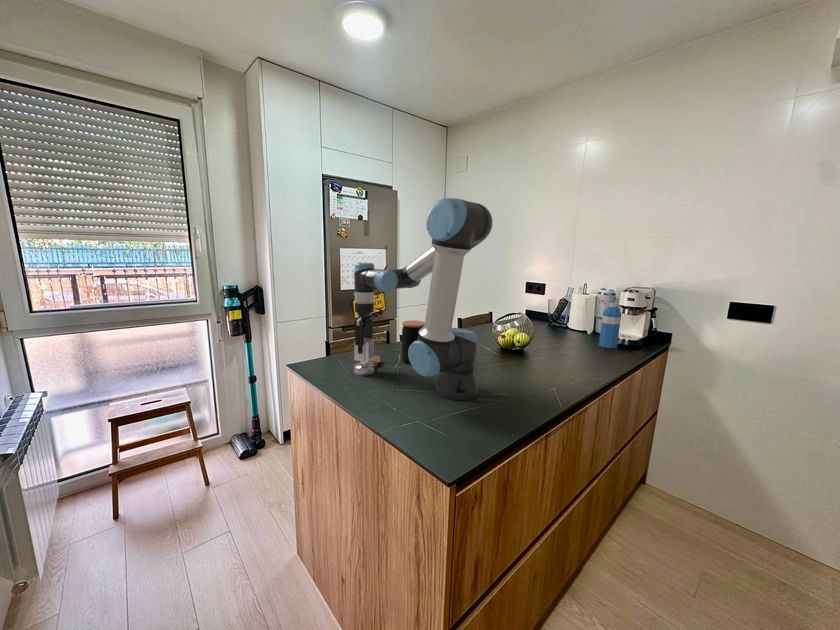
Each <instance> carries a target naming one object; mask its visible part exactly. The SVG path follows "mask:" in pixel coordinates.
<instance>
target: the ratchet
mask: <svg viewBox="0 0 840 630" xmlns="http://www.w3.org/2000/svg"><path fill="white" fill-rule="evenodd" d="M380 362H381V356H380V355H374V357H373V358H372V359H371V360H370V361H369V362H366V361H359V362H358V363H356V364H354V375H356V376H359V377H360V376H361V377H368V376H371V375H373V374H375V368H376V367H377V365H378V364H380Z"/></svg>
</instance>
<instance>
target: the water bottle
mask: <svg viewBox="0 0 840 630" xmlns="http://www.w3.org/2000/svg"><path fill="white" fill-rule="evenodd" d="M618 304H619V303H618V302H609V304H608V305H609V306H608V307H607V308H605V309H604V311H603V312H602V313H603V314H602V318H601V320H602V321H601V326H600V334H599V340H598V341H599V343H598V347H599V346H602V347H606V348H616V349H617V348H618V341H619V332H620V326H621V319H622V312H621V310H620V309H619V307H618Z"/></svg>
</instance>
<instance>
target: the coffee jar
mask: <svg viewBox="0 0 840 630" xmlns="http://www.w3.org/2000/svg"><path fill="white" fill-rule="evenodd" d="M424 325H425V321H421V320H405V321H402V328H401V360H402V362H403V363H404V364H407V365H411V363H410V360H409V356H408V350H409V347H410V345H411V344H412V343H413V342H414V341H417V340H418V333H419V330H420V329H421V328H423V327H424Z"/></svg>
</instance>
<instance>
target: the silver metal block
mask: <svg viewBox="0 0 840 630" xmlns="http://www.w3.org/2000/svg"><path fill="white" fill-rule="evenodd" d="M353 344H354V345H353V346H354V349H353V350H354V351H353V352H354V354H353V355H354V357H353V359H354V361H357V362H359V361H358V345H355V340H354V342H353ZM364 345H365V361H366V362H369V361H370V360H371V359H372V358H373V357H374V356H375V347H374V346H375V338H373V337H372V338H365V337H364Z"/></svg>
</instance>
